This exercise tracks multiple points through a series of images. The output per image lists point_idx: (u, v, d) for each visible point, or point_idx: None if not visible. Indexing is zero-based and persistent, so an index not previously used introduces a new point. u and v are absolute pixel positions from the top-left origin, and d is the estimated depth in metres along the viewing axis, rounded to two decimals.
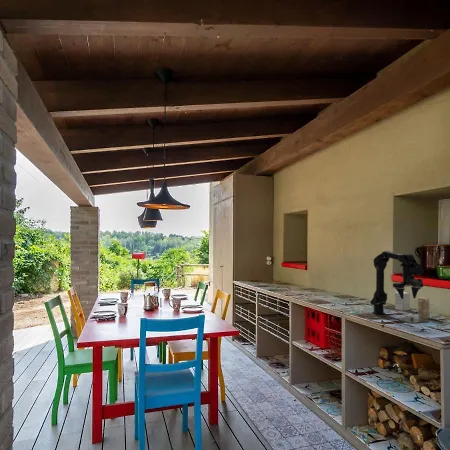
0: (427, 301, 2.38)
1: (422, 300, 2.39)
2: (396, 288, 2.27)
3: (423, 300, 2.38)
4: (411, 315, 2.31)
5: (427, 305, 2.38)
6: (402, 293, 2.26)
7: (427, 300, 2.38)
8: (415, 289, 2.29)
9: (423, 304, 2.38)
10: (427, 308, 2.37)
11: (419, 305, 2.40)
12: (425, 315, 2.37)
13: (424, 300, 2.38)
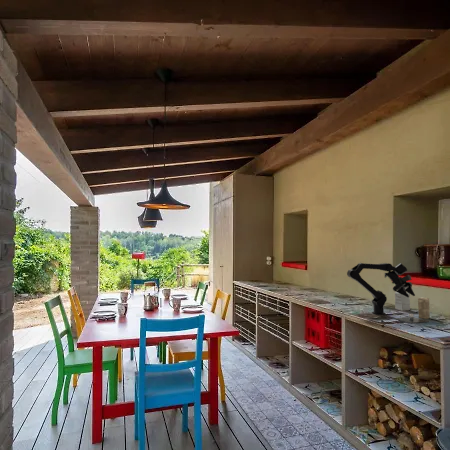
0: (427, 301, 2.38)
1: (422, 300, 2.39)
2: (398, 290, 2.45)
3: (423, 300, 2.38)
4: (411, 315, 2.31)
5: (427, 305, 2.38)
6: (405, 291, 2.44)
7: (427, 300, 2.38)
8: (409, 288, 2.52)
9: (423, 304, 2.38)
10: (427, 308, 2.37)
11: (419, 305, 2.40)
12: (425, 315, 2.37)
13: (424, 300, 2.38)
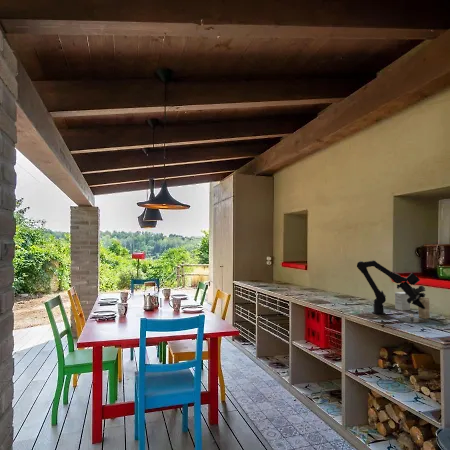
0: (427, 301, 2.38)
1: (422, 300, 2.39)
2: (413, 301, 2.39)
3: (423, 300, 2.38)
4: (411, 315, 2.31)
5: (427, 305, 2.38)
6: (421, 303, 2.38)
7: (427, 300, 2.38)
8: None
9: (423, 304, 2.38)
10: (427, 308, 2.37)
11: None
12: (425, 315, 2.37)
13: (424, 300, 2.38)
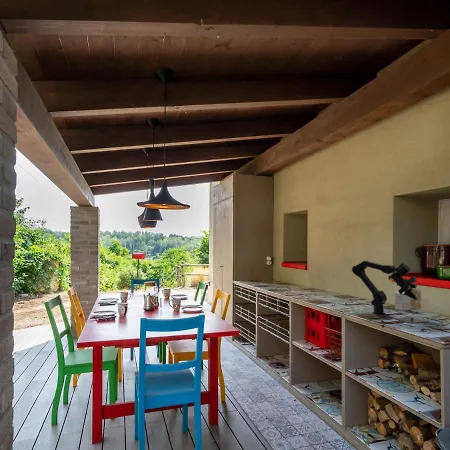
0: (419, 292, 2.34)
1: (414, 291, 2.34)
2: (405, 292, 2.34)
3: (415, 291, 2.34)
4: (411, 315, 2.31)
5: (419, 296, 2.33)
6: (412, 293, 2.34)
7: (419, 291, 2.34)
8: None
9: (415, 295, 2.33)
10: (419, 299, 2.33)
11: None
12: (417, 306, 2.33)
13: (416, 291, 2.33)
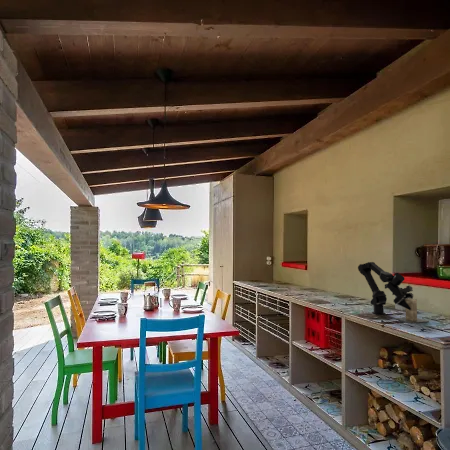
0: (414, 302, 2.31)
1: (409, 301, 2.31)
2: (399, 302, 2.30)
3: (410, 301, 2.31)
4: None
5: (414, 306, 2.30)
6: None
7: (414, 301, 2.31)
8: None
9: (410, 305, 2.30)
10: (414, 309, 2.30)
11: None
12: (412, 317, 2.29)
13: (411, 301, 2.30)
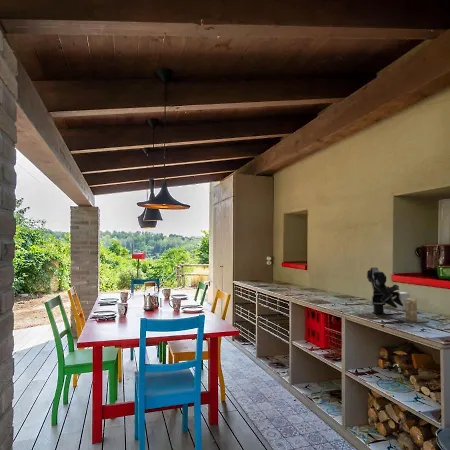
0: (414, 302, 2.31)
1: (409, 301, 2.31)
2: (386, 301, 2.37)
3: (410, 301, 2.31)
4: None
5: (414, 306, 2.30)
6: (393, 302, 2.36)
7: (414, 301, 2.31)
8: (397, 298, 2.44)
9: (410, 305, 2.30)
10: (414, 309, 2.30)
11: (406, 306, 2.32)
12: (412, 317, 2.29)
13: (411, 301, 2.30)
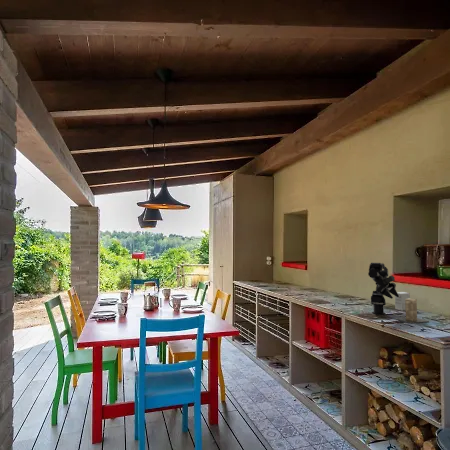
0: (414, 302, 2.31)
1: (409, 301, 2.31)
2: (381, 291, 2.39)
3: (410, 301, 2.31)
4: None
5: (414, 306, 2.30)
6: (388, 292, 2.38)
7: (414, 301, 2.31)
8: (393, 289, 2.46)
9: (410, 305, 2.30)
10: (414, 309, 2.30)
11: (406, 306, 2.32)
12: (412, 317, 2.29)
13: (411, 301, 2.30)
